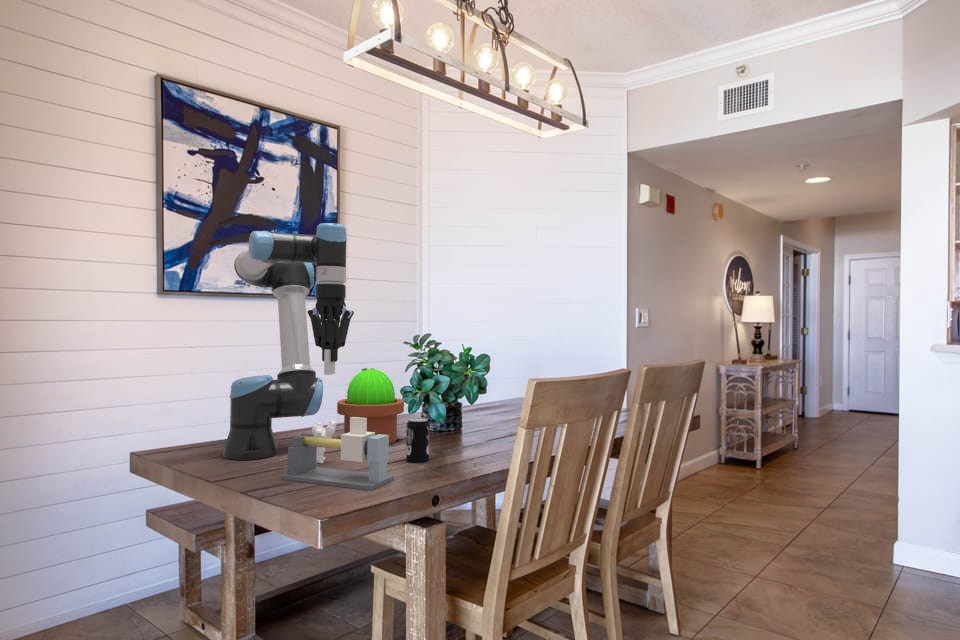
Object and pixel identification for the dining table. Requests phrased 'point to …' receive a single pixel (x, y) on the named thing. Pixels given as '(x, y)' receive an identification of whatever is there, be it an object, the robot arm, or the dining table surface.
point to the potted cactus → (372, 403)
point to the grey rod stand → (306, 470)
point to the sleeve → (355, 440)
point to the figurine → (323, 433)
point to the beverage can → (417, 440)
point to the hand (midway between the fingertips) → (329, 374)
